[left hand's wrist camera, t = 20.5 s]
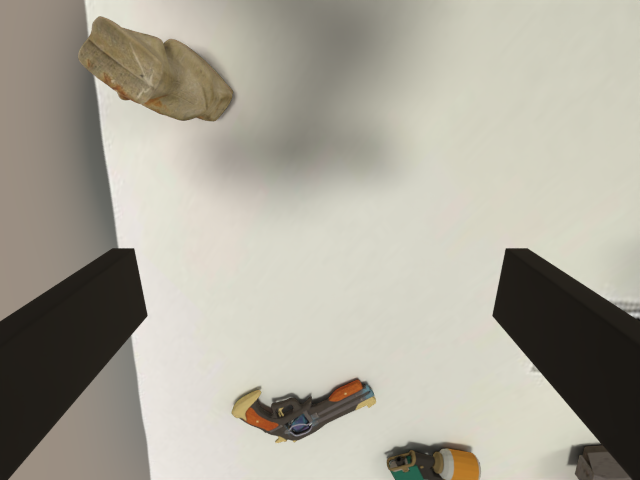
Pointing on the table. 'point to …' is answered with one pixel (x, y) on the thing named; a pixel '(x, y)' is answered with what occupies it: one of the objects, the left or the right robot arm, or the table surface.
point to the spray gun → (435, 466)
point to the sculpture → (154, 72)
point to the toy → (599, 465)
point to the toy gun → (302, 411)
